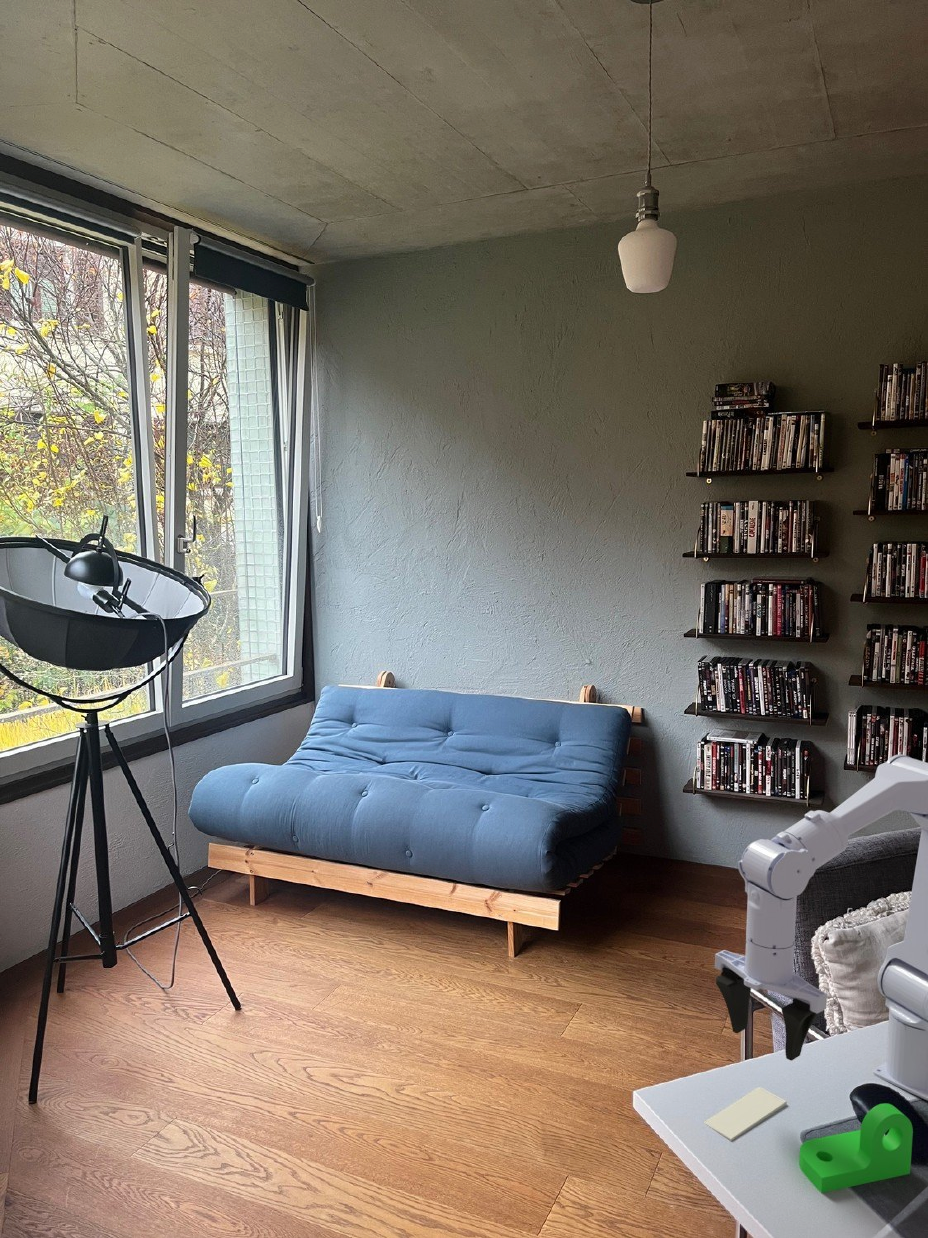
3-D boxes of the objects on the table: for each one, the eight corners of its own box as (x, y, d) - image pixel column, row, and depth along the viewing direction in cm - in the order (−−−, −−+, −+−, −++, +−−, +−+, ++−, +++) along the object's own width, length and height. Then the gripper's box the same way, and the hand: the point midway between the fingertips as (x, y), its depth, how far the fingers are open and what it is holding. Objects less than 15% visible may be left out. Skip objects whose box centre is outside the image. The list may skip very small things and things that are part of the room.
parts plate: (759, 1092, 124) (759, 1086, 123) (786, 1107, 120) (786, 1101, 120) (703, 1128, 116) (703, 1122, 116) (730, 1145, 113) (730, 1139, 113)
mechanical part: (873, 1142, 114) (877, 1080, 113) (909, 1175, 108) (914, 1110, 108) (788, 1159, 111) (791, 1095, 110) (821, 1194, 105) (824, 1127, 104)
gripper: (701, 927, 119) (698, 1029, 120) (805, 970, 108) (800, 1082, 109) (734, 913, 123) (731, 1011, 125) (838, 953, 112) (832, 1060, 114)
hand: (765, 1043), depth 117 cm, fingers open, 7 cm apart
